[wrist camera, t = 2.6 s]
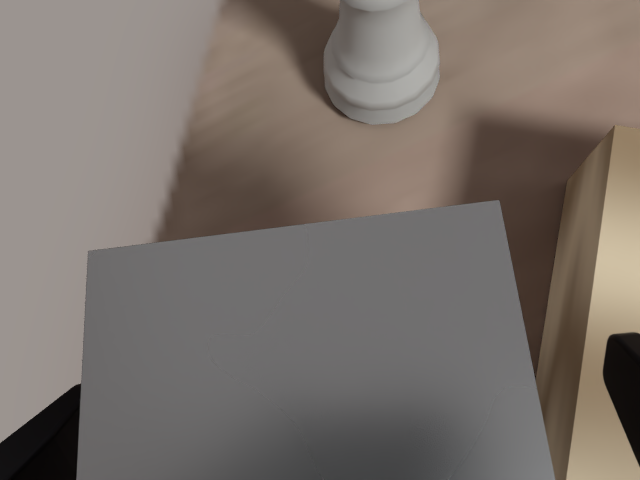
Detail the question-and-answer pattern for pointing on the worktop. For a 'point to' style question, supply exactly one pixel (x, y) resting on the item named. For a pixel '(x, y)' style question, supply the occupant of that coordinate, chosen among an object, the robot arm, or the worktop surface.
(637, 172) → the socket block
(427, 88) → the rook chess piece
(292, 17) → the worktop surface
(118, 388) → the square bit
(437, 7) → the worktop surface
